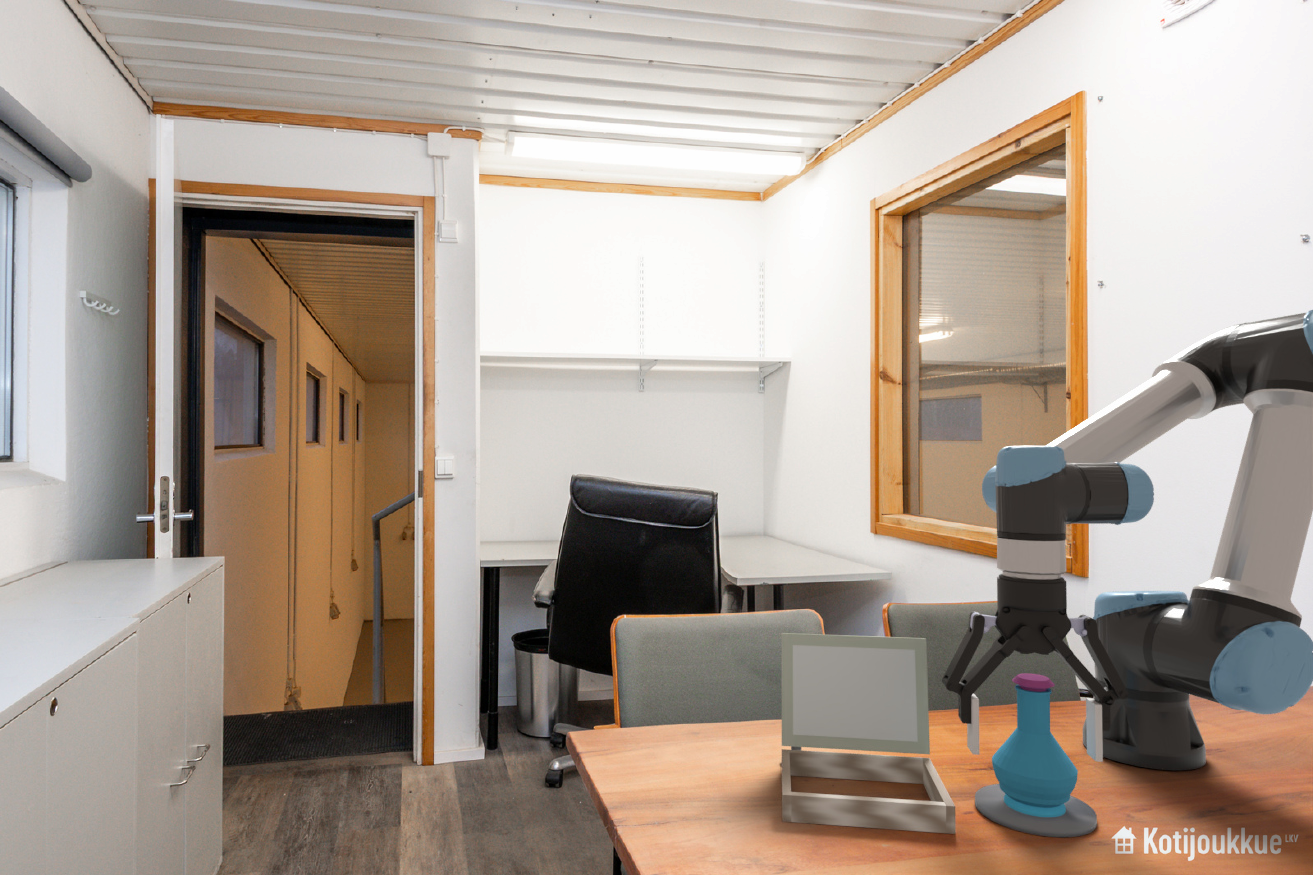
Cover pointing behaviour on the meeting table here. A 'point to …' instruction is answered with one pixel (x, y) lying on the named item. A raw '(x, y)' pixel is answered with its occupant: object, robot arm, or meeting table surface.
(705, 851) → the meeting table surface
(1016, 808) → the perfume bottle
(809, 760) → the cold frame
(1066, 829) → the saucer
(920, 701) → the lid
